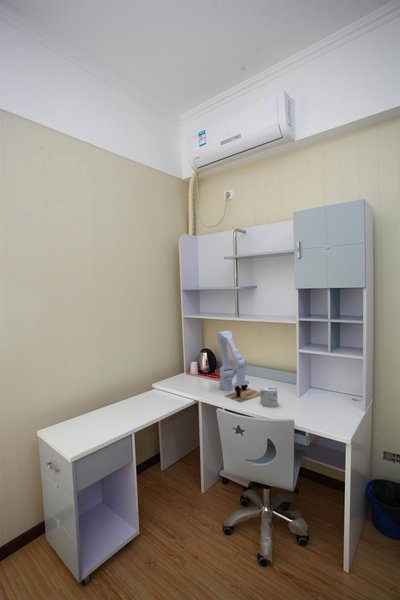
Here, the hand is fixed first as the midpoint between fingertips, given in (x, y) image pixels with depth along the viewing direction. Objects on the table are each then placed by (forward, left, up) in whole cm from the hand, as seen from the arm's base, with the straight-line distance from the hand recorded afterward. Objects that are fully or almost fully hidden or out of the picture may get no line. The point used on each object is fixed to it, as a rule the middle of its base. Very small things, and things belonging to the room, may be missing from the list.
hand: (240, 395), depth 210 cm
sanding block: (0, 0, 0) cm, 0 cm away
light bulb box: (+20, +6, -2) cm, 21 cm away
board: (0, +4, -2) cm, 4 cm away
